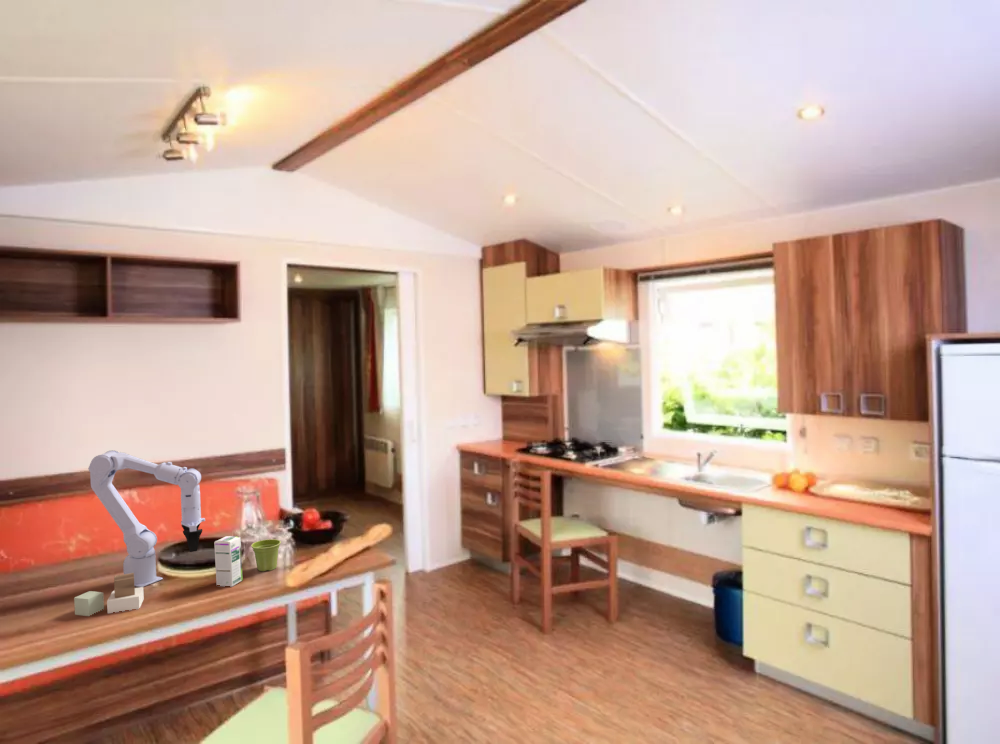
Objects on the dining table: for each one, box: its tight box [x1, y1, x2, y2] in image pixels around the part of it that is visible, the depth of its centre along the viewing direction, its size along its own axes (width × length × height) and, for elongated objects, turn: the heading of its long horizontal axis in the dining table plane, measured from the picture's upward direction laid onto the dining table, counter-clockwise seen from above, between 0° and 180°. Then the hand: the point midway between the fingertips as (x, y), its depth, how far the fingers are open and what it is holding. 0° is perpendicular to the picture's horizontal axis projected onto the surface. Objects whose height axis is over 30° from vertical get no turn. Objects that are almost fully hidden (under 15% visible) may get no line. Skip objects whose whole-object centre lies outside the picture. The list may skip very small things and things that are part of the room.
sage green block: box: [73, 590, 105, 617], centre depth 185 cm, size 5×5×5 cm
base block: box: [106, 586, 145, 614], centre depth 189 cm, size 8×8×4 cm
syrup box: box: [214, 535, 244, 588], centre depth 206 cm, size 6×6×14 cm
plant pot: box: [250, 538, 282, 572], centre depth 219 cm, size 9×9×9 cm
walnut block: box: [113, 573, 136, 598], centre depth 189 cm, size 5×5×5 cm
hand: (192, 548), depth 211 cm, fingers open, 7 cm apart
